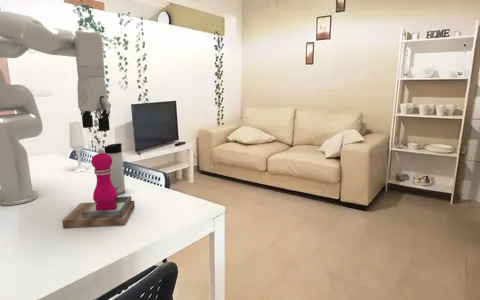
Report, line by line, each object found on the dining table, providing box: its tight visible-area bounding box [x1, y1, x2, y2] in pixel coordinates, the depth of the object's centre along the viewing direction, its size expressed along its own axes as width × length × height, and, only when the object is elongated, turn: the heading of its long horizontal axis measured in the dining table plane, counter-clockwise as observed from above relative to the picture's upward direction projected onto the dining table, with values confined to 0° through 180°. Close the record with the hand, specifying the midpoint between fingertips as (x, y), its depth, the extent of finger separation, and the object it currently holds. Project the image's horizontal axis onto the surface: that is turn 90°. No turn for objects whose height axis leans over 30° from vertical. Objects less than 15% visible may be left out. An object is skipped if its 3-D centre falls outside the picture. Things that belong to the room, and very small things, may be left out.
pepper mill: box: [91, 148, 118, 211], centre depth 100 cm, size 7×7×20 cm
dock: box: [61, 195, 135, 229], centre depth 102 cm, size 18×14×4 cm
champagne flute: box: [69, 121, 88, 173], centre depth 154 cm, size 7×7×24 cm
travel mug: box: [103, 142, 126, 196], centre depth 123 cm, size 6×7×20 cm
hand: (96, 129), depth 100 cm, fingers open, 9 cm apart
